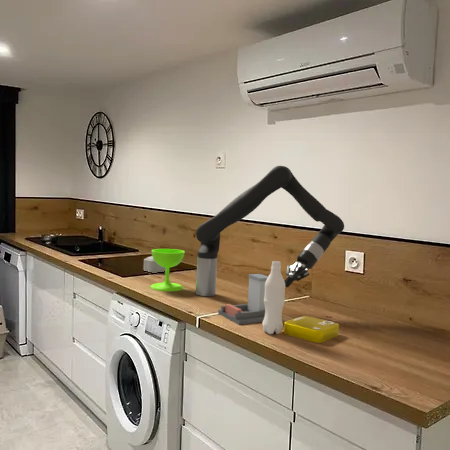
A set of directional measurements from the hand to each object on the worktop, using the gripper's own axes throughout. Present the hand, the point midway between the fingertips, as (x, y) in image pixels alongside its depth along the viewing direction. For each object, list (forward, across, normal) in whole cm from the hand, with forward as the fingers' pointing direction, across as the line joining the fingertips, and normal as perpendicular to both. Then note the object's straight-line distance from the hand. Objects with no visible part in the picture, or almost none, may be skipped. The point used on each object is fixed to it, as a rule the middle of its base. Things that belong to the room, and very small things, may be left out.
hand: (285, 285), depth 193 cm
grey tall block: (+16, 0, -2) cm, 16 cm away
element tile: (+14, +26, +3) cm, 30 cm away
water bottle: (+22, +20, -6) cm, 30 cm away
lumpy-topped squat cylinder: (+20, -100, -4) cm, 102 cm away
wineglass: (+27, -58, -11) cm, 65 cm away
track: (+20, 0, -4) cm, 20 cm away
